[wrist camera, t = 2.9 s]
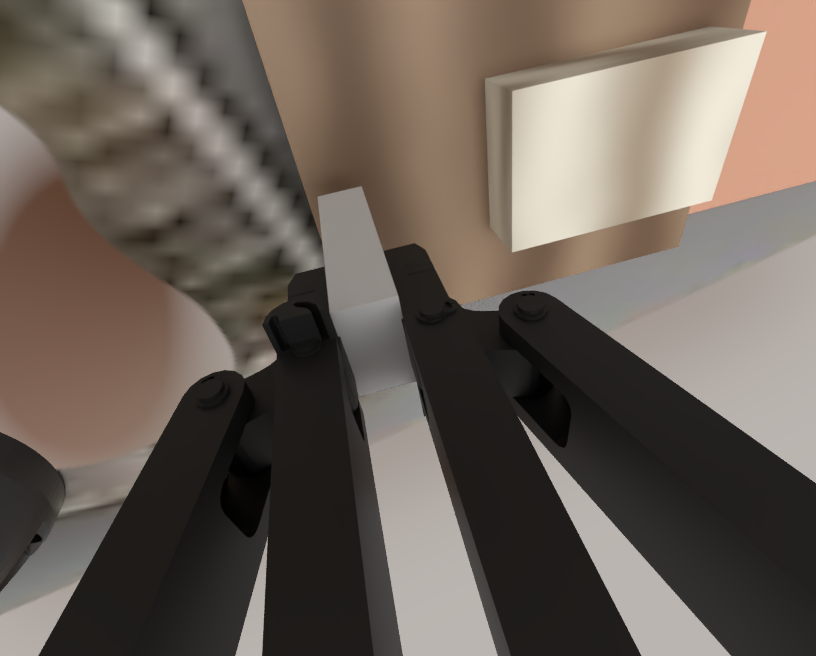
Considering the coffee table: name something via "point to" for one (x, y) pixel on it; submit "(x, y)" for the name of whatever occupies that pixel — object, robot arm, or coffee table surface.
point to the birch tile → (614, 133)
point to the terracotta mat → (774, 107)
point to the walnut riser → (447, 116)
